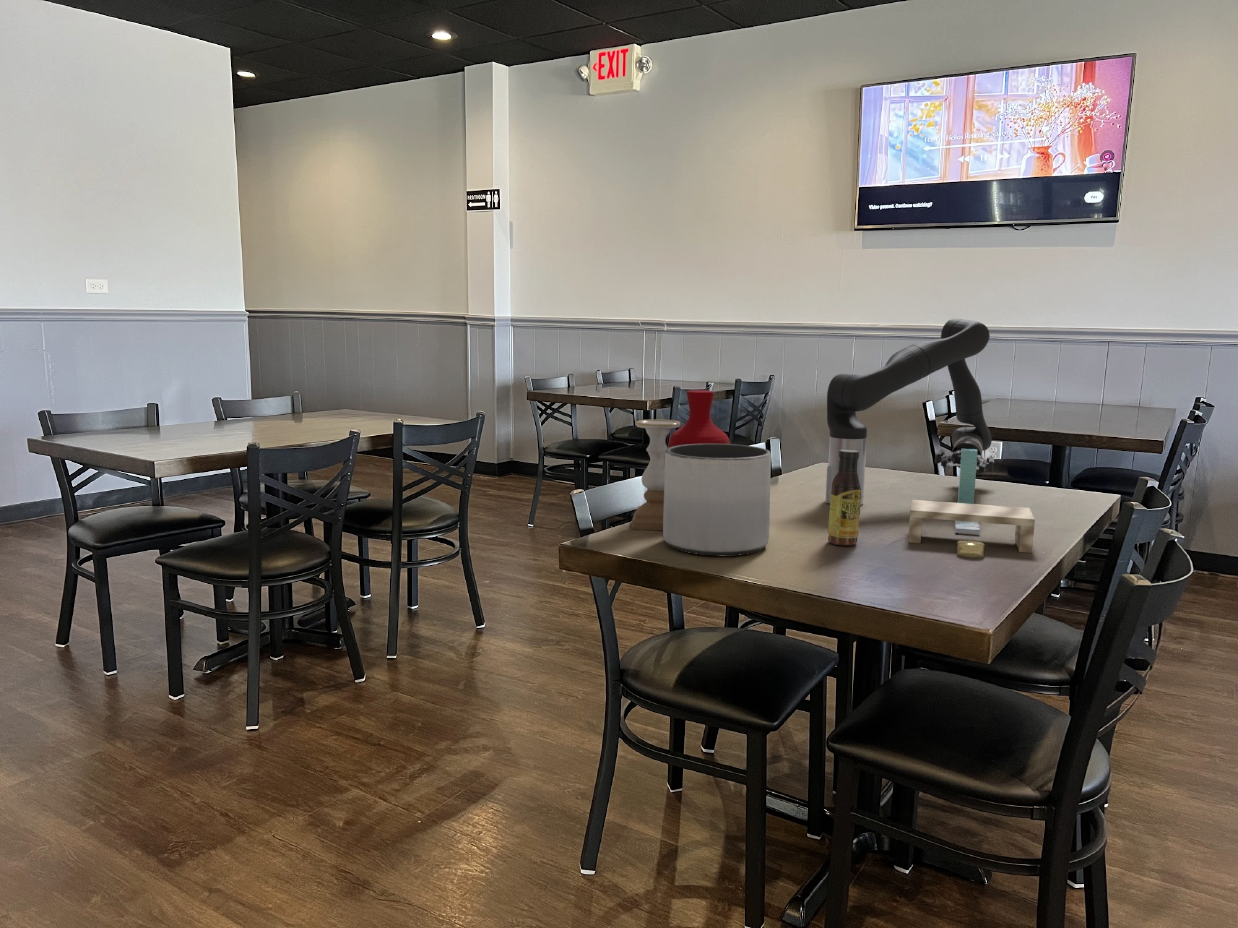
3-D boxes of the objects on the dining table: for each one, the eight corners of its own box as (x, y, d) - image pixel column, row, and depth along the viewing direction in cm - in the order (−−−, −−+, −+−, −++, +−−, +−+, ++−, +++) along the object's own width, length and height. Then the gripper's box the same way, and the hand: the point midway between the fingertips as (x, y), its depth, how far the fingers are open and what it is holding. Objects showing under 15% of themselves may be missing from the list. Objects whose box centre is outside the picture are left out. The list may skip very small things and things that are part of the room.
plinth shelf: (908, 542, 187) (910, 510, 186) (910, 530, 199) (912, 499, 197) (1032, 552, 179) (1034, 519, 178) (1026, 539, 191) (1029, 507, 189)
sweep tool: (955, 533, 196) (960, 462, 193) (953, 512, 218) (958, 448, 215) (979, 535, 194) (984, 463, 191) (975, 514, 216) (980, 449, 213)
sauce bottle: (841, 548, 182) (845, 453, 179) (821, 541, 187) (825, 449, 184) (865, 544, 185) (870, 451, 182) (844, 538, 190) (849, 447, 187)
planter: (705, 564, 169) (708, 461, 166) (642, 540, 188) (643, 447, 185) (791, 549, 181) (794, 453, 178) (723, 528, 199) (725, 440, 196)
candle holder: (681, 520, 207) (683, 419, 203) (679, 531, 196) (681, 424, 192) (635, 519, 208) (635, 418, 204) (631, 529, 197) (631, 424, 193)
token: (957, 557, 176) (958, 545, 176) (956, 551, 181) (957, 539, 180) (984, 559, 175) (985, 547, 174) (982, 553, 179) (983, 541, 179)
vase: (674, 506, 222) (676, 388, 217) (733, 510, 218) (736, 389, 213) (660, 518, 208) (662, 392, 203) (722, 523, 204) (725, 394, 199)
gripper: (941, 435, 240) (935, 448, 226) (997, 442, 235) (994, 457, 221) (937, 461, 243) (931, 476, 228) (993, 469, 237) (990, 485, 223)
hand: (962, 467), depth 225 cm, fingers open, 8 cm apart
